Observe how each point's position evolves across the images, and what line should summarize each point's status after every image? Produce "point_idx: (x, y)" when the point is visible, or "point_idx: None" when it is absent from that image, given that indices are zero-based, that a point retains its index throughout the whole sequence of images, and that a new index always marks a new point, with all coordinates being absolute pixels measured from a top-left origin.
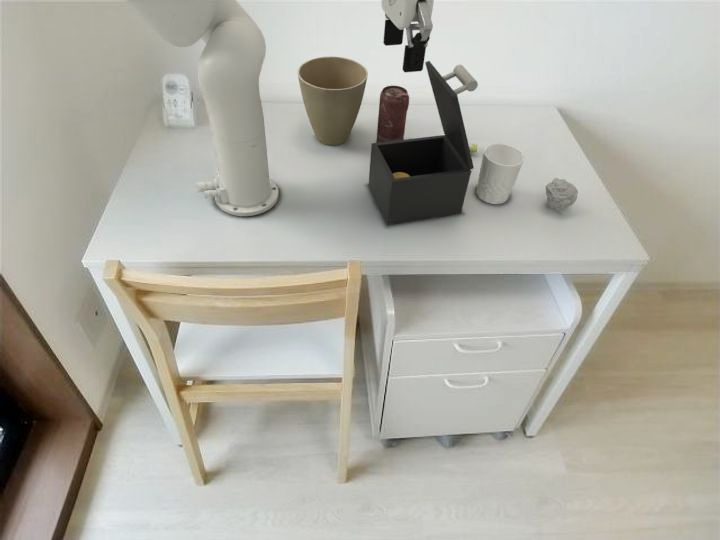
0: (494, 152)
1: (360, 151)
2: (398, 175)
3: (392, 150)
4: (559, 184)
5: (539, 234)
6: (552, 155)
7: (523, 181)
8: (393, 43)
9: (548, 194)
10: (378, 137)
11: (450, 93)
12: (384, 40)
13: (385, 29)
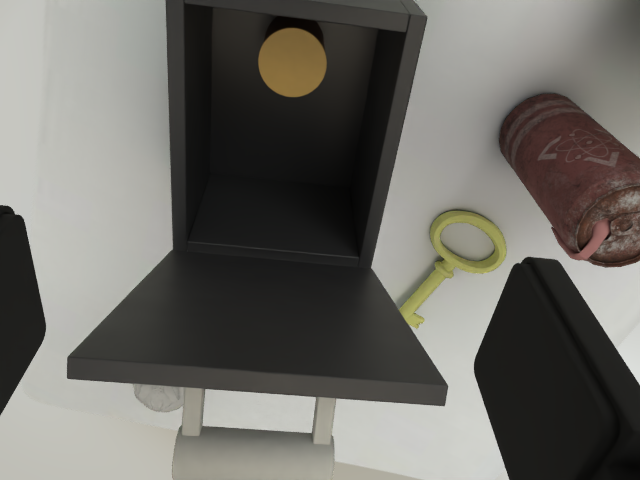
0: None
1: (572, 37)
2: (309, 63)
3: (388, 87)
4: (151, 394)
5: (98, 289)
6: (333, 425)
7: None
8: (497, 322)
9: None
10: (564, 108)
11: (106, 362)
12: (544, 276)
13: (587, 352)
